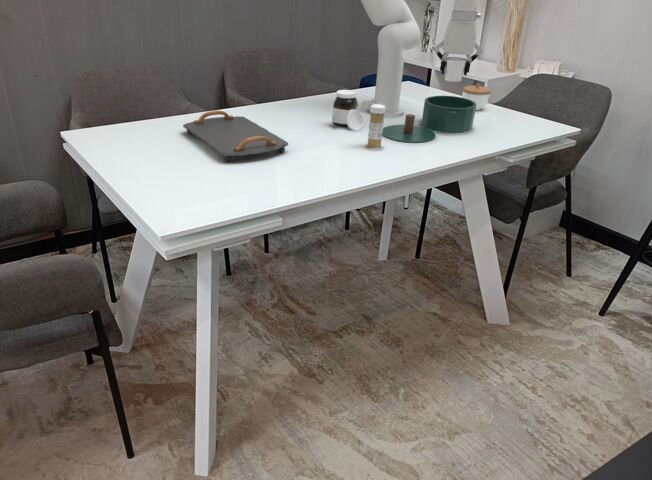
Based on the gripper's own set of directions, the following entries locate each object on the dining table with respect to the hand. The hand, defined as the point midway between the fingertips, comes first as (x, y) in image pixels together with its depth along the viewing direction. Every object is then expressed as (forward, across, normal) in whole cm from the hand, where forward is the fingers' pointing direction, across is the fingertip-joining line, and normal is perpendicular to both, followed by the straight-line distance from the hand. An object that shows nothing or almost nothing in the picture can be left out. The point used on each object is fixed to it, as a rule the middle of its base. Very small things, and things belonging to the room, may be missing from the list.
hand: (453, 73), depth 187 cm
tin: (+19, -1, -2) cm, 19 cm away
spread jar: (+19, +34, +6) cm, 40 cm away
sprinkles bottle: (+19, +24, +27) cm, 41 cm away
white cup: (+2, 0, 0) cm, 2 cm away
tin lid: (+18, +13, +12) cm, 26 cm away
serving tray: (+19, +69, +33) cm, 79 cm away
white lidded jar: (+19, -14, -31) cm, 39 cm away
